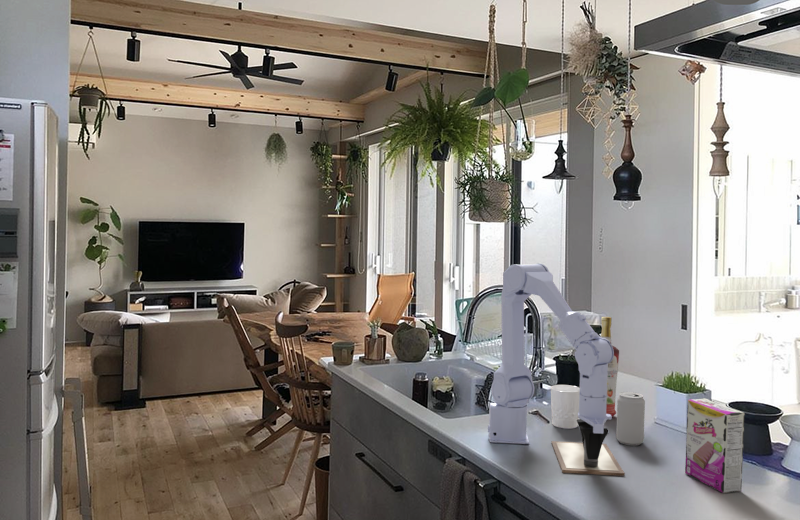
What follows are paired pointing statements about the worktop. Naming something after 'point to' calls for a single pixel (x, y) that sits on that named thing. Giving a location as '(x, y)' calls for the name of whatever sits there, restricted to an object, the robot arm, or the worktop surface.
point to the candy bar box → (715, 444)
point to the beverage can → (630, 418)
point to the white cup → (565, 406)
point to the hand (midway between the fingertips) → (591, 456)
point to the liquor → (610, 368)
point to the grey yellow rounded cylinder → (589, 461)
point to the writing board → (573, 459)
